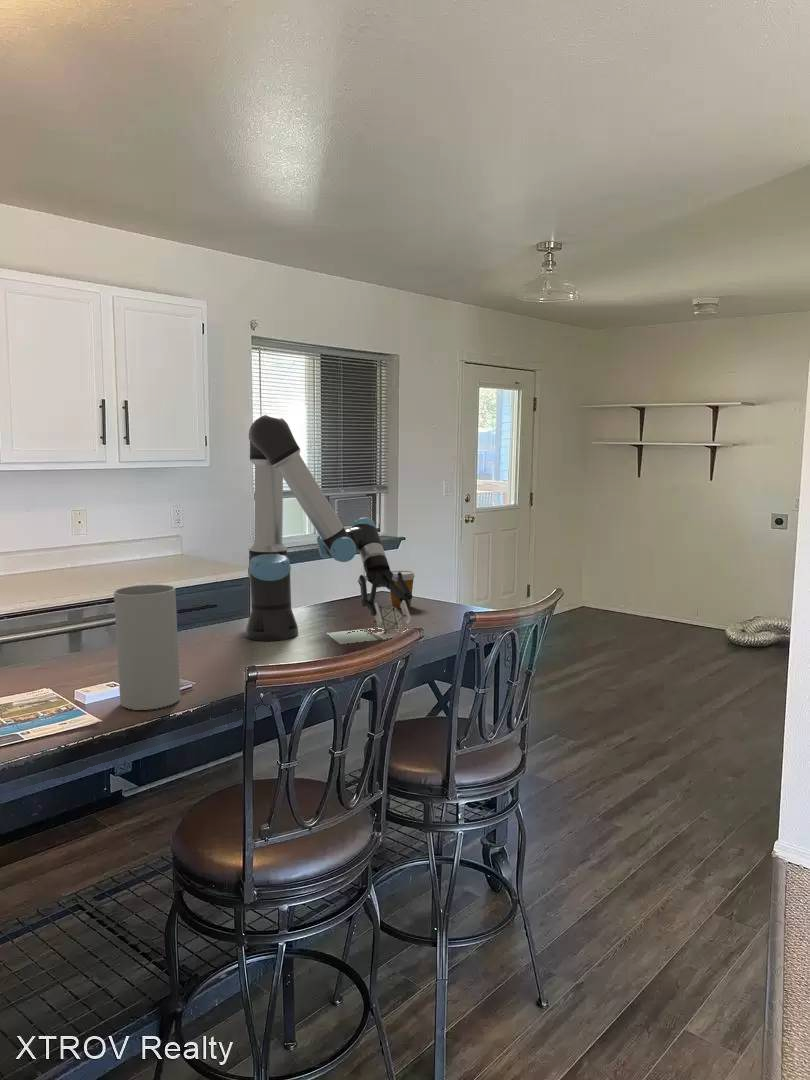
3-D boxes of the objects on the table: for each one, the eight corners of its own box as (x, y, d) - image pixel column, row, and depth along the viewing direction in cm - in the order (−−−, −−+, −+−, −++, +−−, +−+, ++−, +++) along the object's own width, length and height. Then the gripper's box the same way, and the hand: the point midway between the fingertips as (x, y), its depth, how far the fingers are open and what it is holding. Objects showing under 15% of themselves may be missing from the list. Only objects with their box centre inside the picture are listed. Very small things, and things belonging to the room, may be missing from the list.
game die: (395, 644, 232) (404, 622, 225) (368, 634, 232) (377, 612, 225) (401, 624, 239) (411, 602, 232) (375, 614, 239) (384, 592, 232)
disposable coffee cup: (419, 605, 272) (419, 571, 270) (407, 610, 263) (406, 575, 262) (395, 603, 276) (395, 569, 275) (382, 608, 268) (382, 573, 266)
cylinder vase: (191, 701, 171) (186, 588, 168) (139, 716, 162) (133, 597, 159) (161, 690, 179) (155, 582, 176) (109, 703, 170) (103, 590, 167)
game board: (340, 644, 219) (340, 643, 219) (325, 633, 232) (325, 633, 232) (418, 635, 228) (418, 635, 228) (400, 625, 241) (400, 625, 241)
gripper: (403, 566, 249) (423, 625, 236) (339, 570, 241) (357, 632, 228) (409, 551, 243) (430, 611, 230) (344, 555, 235) (363, 618, 222)
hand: (394, 622), depth 229 cm, fingers closed on game die, 8 cm apart
